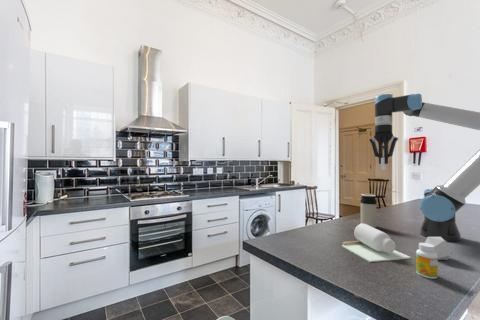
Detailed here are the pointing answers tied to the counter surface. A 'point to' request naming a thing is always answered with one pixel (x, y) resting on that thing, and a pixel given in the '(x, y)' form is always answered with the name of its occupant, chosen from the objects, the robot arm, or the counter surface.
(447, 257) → the die
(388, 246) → the pill bottle
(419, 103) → the robot arm
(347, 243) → the stop strip
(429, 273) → the supplement bottle
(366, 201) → the travel mug
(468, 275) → the counter surface
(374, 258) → the mat
